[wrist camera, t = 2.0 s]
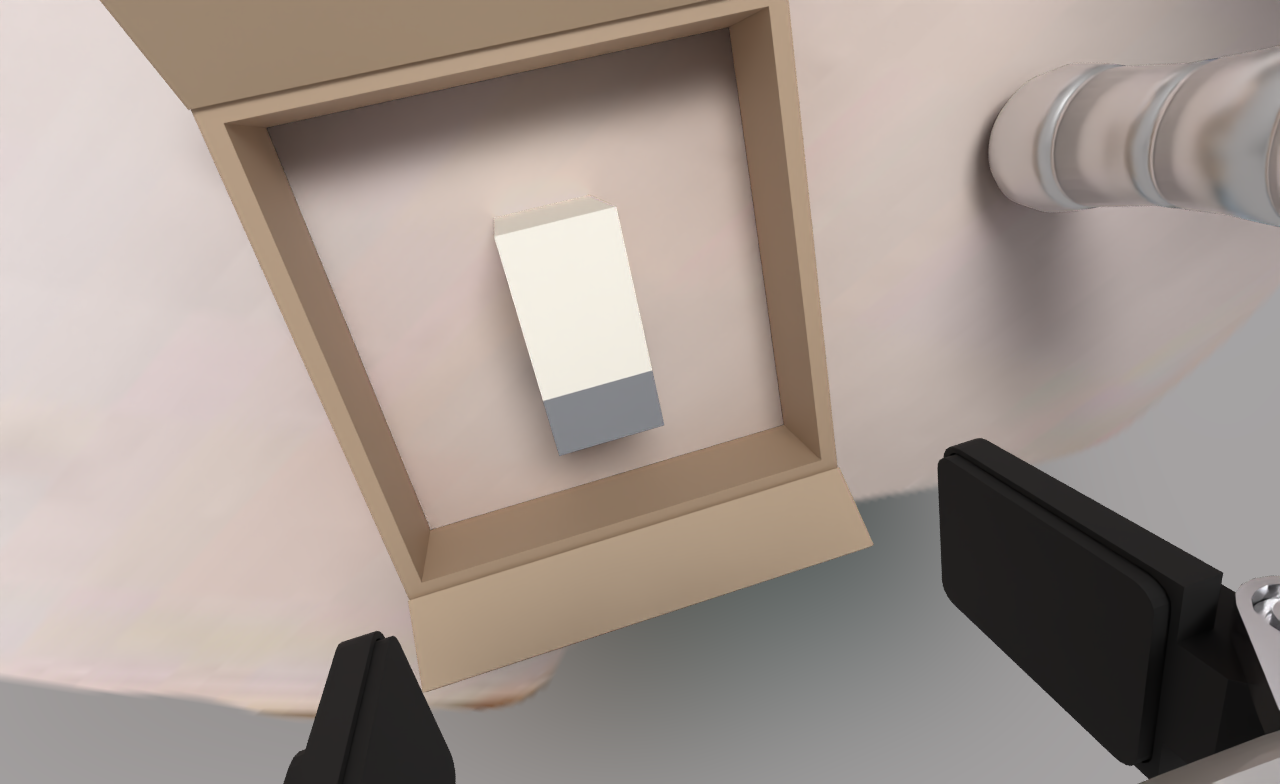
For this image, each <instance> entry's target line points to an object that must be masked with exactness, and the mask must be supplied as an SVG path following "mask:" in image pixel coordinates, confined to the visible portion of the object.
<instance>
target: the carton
mask: <svg viewBox="0 0 1280 784" xmlns="http://www.w3.org/2000/svg"><path fill="white" fill-rule="evenodd" d="M100 1H101V2H102V4H103V5H104V6H105V7H106V9H107V10H108V11H109V12H110V14H111V15H112V16H113V17H114V18H115V20H116V21H117V22H118V23H119V25H120V26H121V27H122V28H123V30H124V31H125V32H126V33H127V35H128V36H129V37H130V38H131V39H132V41H133V42H134V43H135V44H136V46H137V47H138V48H139V49H140V51H141V52H142V53H143V54H144V56H145V57H146V58H147V59H148V60H149V62H150V63H151V64H152V65H153V67H154V68H155V69H156V70H157V72H158V73H159V74H160V75H161V77H162V78H163V79H164V80H165V82H166V83H167V84H168V85H169V86H170V88H171V89H172V90H173V91H174V93H175V94H176V95H177V96H178V98H179V99H180V100H181V101H182V103H183V104H184V105H185V106H186V107H187V109H188V110H190V109H191V111H192V113H193V116H194V118H195V120H196V122H197V125H198V127H199V129H200V131H201V134H202V136H203V138H204V140H205V142H206V145H207V147H208V149H209V151H210V154H211V156H212V158H213V160H214V163H215V165H216V167H217V169H218V172H219V174H220V176H221V178H222V181H223V183H224V185H225V187H226V190H227V192H228V194H229V196H230V199H231V201H232V203H233V205H234V207H235V210H236V212H237V214H238V216H239V219H240V221H241V223H242V225H243V228H244V230H245V232H246V234H247V237H248V239H249V241H250V243H251V246H252V248H253V250H254V252H255V255H256V257H257V259H258V261H259V264H260V266H261V268H262V270H263V273H264V275H265V277H266V279H267V281H268V284H269V286H270V288H271V290H272V293H273V295H274V297H275V299H276V302H277V304H278V306H279V308H280V311H281V313H282V315H283V317H284V320H285V322H286V324H287V326H288V329H289V331H290V333H291V335H292V338H293V340H294V342H295V344H296V346H297V349H298V351H299V353H300V355H301V358H302V360H303V362H304V364H305V367H306V369H307V371H308V373H309V376H310V378H311V380H312V382H313V385H314V387H315V389H316V391H317V394H318V396H319V398H320V400H321V403H322V405H323V407H324V409H325V412H326V414H327V416H328V418H329V420H330V423H331V425H332V427H333V429H334V432H335V434H336V436H337V438H338V441H339V443H340V445H341V447H342V450H343V452H344V454H345V456H346V459H347V461H348V463H349V465H350V468H351V470H352V472H353V474H354V477H355V479H356V481H357V483H358V485H359V488H360V490H361V492H362V494H363V497H364V499H365V501H366V503H367V506H368V508H369V510H370V512H371V515H372V517H373V519H374V521H375V524H376V526H377V528H378V530H379V533H380V535H381V537H382V539H383V542H384V544H385V546H386V548H387V550H388V553H389V555H390V557H391V559H392V562H393V564H394V566H395V568H396V571H397V573H398V575H399V577H400V580H401V582H402V584H403V586H404V589H405V591H406V593H407V595H408V598H409V601H408V603H409V609H410V616H411V622H412V628H413V635H414V641H415V647H416V653H417V660H418V666H419V672H420V679H421V685H422V691H423V692H428V691H431V690H434V689H437V688H440V687H444V686H447V685H450V684H453V683H456V682H459V681H462V680H465V679H468V678H471V677H474V676H477V675H480V674H483V673H486V672H489V671H492V670H495V669H499V668H502V667H505V666H508V665H511V664H514V663H517V662H520V661H523V660H526V659H529V658H532V657H535V656H538V655H541V654H544V653H547V652H550V651H554V650H557V649H560V648H563V647H566V646H569V645H572V644H575V643H578V642H581V641H584V640H587V639H590V638H593V637H596V636H599V635H602V634H605V633H609V632H612V631H615V630H618V629H621V628H624V627H627V626H630V625H633V624H636V623H639V622H642V621H645V620H648V619H651V618H654V617H657V616H660V615H664V614H666V613H669V612H673V611H675V610H679V609H682V608H685V607H688V606H691V605H694V604H697V603H700V602H703V601H706V600H709V599H712V598H715V597H719V596H722V595H725V594H728V593H730V592H734V591H737V590H740V589H742V588H746V587H749V586H752V585H755V584H758V583H761V582H764V581H767V580H770V579H774V578H776V577H780V576H783V575H786V574H789V573H792V572H795V571H798V570H801V569H804V568H807V567H810V566H813V565H816V564H819V563H822V562H826V561H829V560H832V559H835V558H837V557H841V556H844V555H847V554H850V553H853V552H856V551H859V550H862V549H865V548H868V547H871V546H873V542H872V540H871V538H870V535H869V533H868V531H867V529H866V526H865V524H864V522H863V520H862V518H861V515H860V513H859V511H858V508H857V506H856V504H855V502H854V500H853V497H852V495H851V493H850V491H849V488H848V486H847V484H846V482H845V479H844V477H843V475H842V473H841V470H840V468H837V459H836V450H835V440H834V431H833V421H832V412H831V402H830V392H829V383H828V373H827V364H826V354H825V345H824V335H823V326H822V316H821V307H820V297H819V288H818V278H817V268H816V259H815V249H814V240H813V230H812V221H811V211H810V202H809V192H808V183H807V173H806V164H805V154H804V144H803V135H802V125H801V116H800V106H799V97H798V87H797V78H796V68H795V59H794V49H793V39H792V30H791V20H790V11H789V1H788V0H100ZM728 27H729V31H730V39H731V46H732V53H733V60H734V68H735V75H736V82H737V89H738V97H739V104H740V111H741V118H742V125H743V133H744V140H745V147H746V154H747V162H748V169H749V176H750V183H751V191H752V198H753V205H754V212H755V220H756V227H757V234H758V241H759V249H760V256H761V263H762V270H763V277H764V285H765V292H766V299H767V306H768V314H769V321H770V328H771V335H772V343H773V350H774V357H775V364H776V372H777V379H778V386H779V393H780V400H781V408H782V415H783V422H784V425H782V426H779V427H775V428H772V429H768V430H765V431H762V432H758V433H755V434H752V435H748V436H745V437H742V438H738V439H735V440H732V441H728V442H725V443H721V444H718V445H715V446H711V447H708V448H705V449H701V450H698V451H695V452H691V453H688V454H685V455H681V456H678V457H674V458H671V459H668V460H664V461H661V462H658V463H654V464H651V465H648V466H644V467H641V468H637V469H634V470H631V471H627V472H624V473H621V474H617V475H614V476H611V477H607V478H604V479H601V480H597V481H594V482H590V483H587V484H584V485H580V486H577V487H574V488H570V489H567V490H564V491H560V492H557V493H554V494H550V495H547V496H543V497H540V498H537V499H533V500H530V501H527V502H523V503H520V504H517V505H513V506H510V507H507V508H503V509H500V510H496V511H493V512H490V513H486V514H483V515H480V516H476V517H473V518H470V519H466V520H463V521H459V522H456V523H453V524H449V525H446V526H443V527H439V528H436V529H433V530H430V528H429V526H428V523H427V521H426V518H425V516H424V513H423V511H422V508H421V506H420V504H419V501H418V499H417V496H416V494H415V491H414V489H413V486H412V484H411V482H410V479H409V477H408V474H407V472H406V469H405V467H404V464H403V462H402V459H401V457H400V455H399V452H398V450H397V447H396V445H395V442H394V440H393V437H392V435H391V432H390V430H389V428H388V425H387V423H386V420H385V418H384V415H383V413H382V410H381V408H380V406H379V403H378V401H377V398H376V396H375V393H374V391H373V388H372V386H371V383H370V381H369V379H368V376H367V374H366V371H365V369H364V366H363V364H362V361H361V359H360V357H359V354H358V352H357V349H356V347H355V344H354V342H353V339H352V337H351V334H350V332H349V330H348V327H347V325H346V322H345V320H344V317H343V315H342V312H341V310H340V307H339V305H338V303H337V300H336V298H335V295H334V293H333V290H332V288H331V285H330V283H329V281H328V278H327V276H326V273H325V271H324V268H323V266H322V263H321V261H320V258H319V256H318V254H317V251H316V249H315V246H314V244H313V241H312V239H311V236H310V234H309V232H308V229H307V227H306V224H305V222H304V219H303V217H302V214H301V212H300V209H299V207H298V205H297V202H296V200H295V197H294V195H293V192H292V190H291V187H290V185H289V182H288V180H287V178H286V175H285V173H284V170H283V168H282V165H281V163H280V160H279V158H278V156H277V153H276V151H275V148H274V146H273V143H272V141H271V138H270V136H269V133H268V131H267V129H266V128H267V127H272V126H277V125H281V124H286V123H290V122H295V121H300V120H304V119H309V118H313V117H318V116H323V115H327V114H332V113H336V112H341V111H346V110H350V109H355V108H359V107H364V106H369V105H373V104H378V103H383V102H387V101H392V100H396V99H401V98H406V97H410V96H415V95H419V94H424V93H429V92H433V91H438V90H442V89H447V88H452V87H456V86H461V85H465V84H470V83H475V82H479V81H484V80H488V79H493V78H498V77H502V76H507V75H511V74H516V73H521V72H525V71H530V70H534V69H539V68H544V67H548V66H553V65H557V64H562V63H567V62H571V61H576V60H580V59H585V58H590V57H594V56H599V55H603V54H608V53H613V52H617V51H622V50H626V49H631V48H636V47H640V46H645V45H649V44H654V43H659V42H663V41H668V40H672V39H677V38H682V37H686V36H691V35H695V34H700V33H705V32H709V31H714V30H718V29H723V28H728Z"/></svg>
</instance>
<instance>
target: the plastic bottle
mask: <svg viewBox="0 0 1280 784" xmlns="http://www.w3.org/2000/svg"><path fill="white" fill-rule="evenodd" d="M988 158H989V166H990V169H991V173H992V175H993V177H994V179H995V181H996V183H997V185H998V187H999V189H1000V190H1001V191H1002V192H1003V193H1004V195H1005V196H1006V197H1007V198H1009V199H1010V200H1012V201H1013V202H1015V203H1018V204H1020V205H1023V206H1026V207H1029V208H1032V209H1035V210H1038V211H1041V212H1052V213H1054V212H1069V211H1079V210H1085V209H1091V208H1096V207H1128V206H1161V207H1168V208H1179V209H1185V210H1192V211H1200V212H1208V213H1216V214H1224V215H1228V216H1232V217H1237V218H1241V219H1246V220H1250V221H1254V222H1259V223H1263V224H1268V225H1272V226H1276V227H1280V45H1277V46H1274V47H1270V48H1266V49H1261V50H1255V51H1250V52H1245V53H1240V54H1234V55H1229V56H1224V57H1221V58H1215V59H1208V60H1203V61H1198V62H1193V63H1176V64H1155V65H1134V66H1126V65H1118V64H1110V63H1073V64H1067V65H1065V66H1062V67H1059V68H1057V69H1054V70H1052V71H1049V72H1046V73H1044V74H1041V75H1039V76H1036V77H1034V78H1032V79H1031V80H1029V81H1028V82H1026V83H1025V84H1023V85H1022V86H1021V87H1020V88H1019V89H1018V90H1017V91H1016V92H1015V93H1014V94H1013V95H1012V97H1011V98H1010V99H1009V101H1008V102H1007V103H1006V105H1005V106H1004V107H1003V109H1002V110H1001V111H1000V113H999V115H998V117H997V119H996V121H995V123H994V126H993V128H992V131H991V135H990V140H989V148H988Z"/></svg>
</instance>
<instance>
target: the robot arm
mask: <svg viewBox="0 0 1280 784" xmlns="http://www.w3.org/2000/svg"><path fill="white" fill-rule="evenodd" d="M938 490H939V514H940V538H941V539H940V540H941V564H942V583H943V587H944V590H945V592H946V594H947V596H948V598H949V599H950V600H951V602H952V603H953V604H954V605H955V606H956V607H957V608H958V609H959V610H960V611H961V612H962V613H964V614H965V615H966V616H967V617H968V618H969V619H970V620H971V621H972V622H973V623H974V624H975V625H976V626H977V627H978V628H979V629H980V630H981V631H982V632H983V633H985V634H986V635H987V636H988V637H989V638H990V639H991V640H992V641H993V642H994V643H995V644H996V645H997V646H998V647H999V648H1000V649H1001V650H1002V651H1004V652H1005V653H1006V654H1007V655H1008V656H1009V657H1010V658H1011V659H1012V660H1013V661H1014V662H1015V663H1016V664H1017V665H1018V666H1019V667H1020V668H1021V669H1022V670H1023V671H1025V672H1026V673H1027V674H1028V675H1029V676H1030V677H1031V678H1032V679H1033V680H1034V681H1035V682H1036V683H1037V684H1038V685H1039V686H1040V687H1041V688H1042V689H1043V690H1044V691H1046V692H1047V693H1048V694H1049V695H1050V696H1051V697H1052V698H1053V699H1054V700H1055V701H1056V702H1057V703H1058V704H1059V705H1060V706H1061V707H1062V708H1064V710H1065V711H1067V712H1068V713H1069V714H1070V715H1071V716H1072V717H1073V718H1074V719H1075V720H1076V721H1077V722H1078V723H1079V724H1080V725H1081V726H1082V727H1083V728H1084V729H1085V730H1086V731H1088V732H1089V733H1090V734H1091V735H1092V736H1093V737H1094V738H1095V739H1096V740H1097V741H1098V742H1099V743H1100V744H1101V745H1102V746H1103V747H1104V748H1106V749H1107V750H1108V751H1109V752H1110V753H1111V754H1112V755H1113V756H1114V757H1115V758H1116V759H1117V760H1119V761H1120V762H1122V763H1124V764H1125V765H1129V766H1132V765H1134V766H1135V767H1137V768H1138V769H1139V770H1140V771H1141V772H1142V773H1143V774H1144V775H1145V776H1146V777H1147V778H1148V779H1149V780H1146V781H1144V782H1142V783H1139V784H1280V576H1266V577H1260V578H1254V579H1252V580H1250V581H1247V582H1245V583H1244V584H1242V585H1241V586H1240V587H1239V589H1238V590H1237V592H1234V591H1232V590H1231V589H1229V588H1227V587H1225V586H1224V585H1222V584H1221V583H1222V576H1223V573H1222V572H1221V571H1219V570H1217V569H1215V568H1213V567H1212V566H1210V565H1208V564H1206V563H1204V562H1203V561H1201V560H1199V559H1197V558H1196V557H1194V556H1192V555H1190V554H1188V553H1187V552H1185V551H1183V550H1182V549H1180V548H1178V547H1176V546H1174V545H1172V544H1171V543H1169V542H1167V541H1165V540H1164V539H1162V538H1160V537H1158V536H1156V535H1155V534H1153V533H1151V532H1149V531H1148V530H1146V529H1144V528H1142V527H1140V526H1139V525H1137V524H1135V523H1133V522H1132V521H1130V520H1128V519H1126V518H1124V517H1123V516H1121V515H1119V514H1117V513H1115V512H1114V511H1112V510H1110V509H1108V508H1106V507H1105V506H1103V505H1101V504H1100V503H1098V502H1096V501H1094V500H1092V499H1091V498H1089V497H1087V496H1085V495H1083V494H1082V493H1080V492H1078V491H1076V490H1075V489H1073V488H1071V487H1069V486H1067V485H1066V484H1064V483H1062V482H1060V481H1058V480H1057V479H1055V478H1053V477H1051V476H1049V475H1048V474H1046V473H1044V472H1042V471H1041V470H1039V469H1037V468H1035V467H1034V466H1032V465H1030V464H1028V463H1026V462H1025V461H1023V460H1021V459H1019V458H1018V457H1016V456H1014V455H1012V454H1010V453H1009V452H1007V451H1005V450H1003V449H1001V448H1000V447H998V446H996V445H994V444H993V443H991V442H989V441H987V440H985V439H982V438H977V439H974V440H970V441H967V442H964V443H961V444H958V445H955V446H952V447H949V448H948V449H946V451H945V453H944V458H942V459H941V460H939V463H938ZM284 784H455V768H454V763H453V759H452V756H451V753H450V751H449V749H448V747H447V744H446V742H445V740H444V738H443V736H442V734H441V731H440V729H439V727H438V725H437V723H436V721H435V719H434V716H433V714H432V712H431V710H430V708H429V706H428V703H427V701H426V699H425V697H424V695H423V693H422V690H421V688H420V686H419V684H418V682H417V680H416V678H415V675H414V673H413V671H412V669H411V667H410V665H409V663H408V660H407V658H406V656H405V654H404V652H403V650H402V647H401V645H400V643H399V641H398V640H397V638H396V637H395V636H391V637H388V638H385V637H384V635H383V634H382V633H381V632H380V631H375V632H372V633H369V634H366V635H363V636H360V637H356V638H353V639H350V640H347V641H344V642H341V643H340V644H339V645H338V647H337V649H336V652H335V655H334V658H333V661H332V665H331V668H330V671H329V674H328V678H327V681H326V684H325V687H324V691H323V694H322V697H321V700H320V704H319V707H318V710H317V713H316V717H315V720H314V723H313V727H312V730H311V733H310V736H309V740H308V743H307V746H306V749H305V750H302V751H299V752H298V753H297V755H295V757H294V758H293V760H292V762H291V764H290V766H289V768H288V771H287V774H286V777H285V781H284Z"/></svg>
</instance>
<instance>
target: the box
mask: <svg viewBox="0 0 1280 784" xmlns="http://www.w3.org/2000/svg"><path fill="white" fill-rule="evenodd" d="M494 238H495V241H496V245H497V248H498V251H499V255H500V258H501V261H502V265H503V268H504V272H505V275H506V278H507V282H508V285H509V288H510V292H511V295H512V298H513V302H514V305H515V309H516V312H517V315H518V319H519V322H520V325H521V329H522V332H523V336H524V339H525V342H526V346H527V349H528V352H529V356H530V359H531V362H532V366H533V369H534V373H535V376H536V379H537V383H538V386H539V389H540V393H541V396H542V399H543V403H544V406H545V410H546V413H547V416H548V420H549V423H550V426H551V430H552V433H553V436H554V440H555V443H556V447H557V450H558V453H559V456H561V455H564V454H568V453H571V452H574V451H578V450H581V449H585V448H588V447H592V446H595V445H598V444H602V443H605V442H609V441H612V440H616V439H619V438H622V437H626V436H629V435H633V434H636V433H640V432H643V431H646V430H650V429H653V428H657V427H660V426H663V425H664V422H663V417H662V413H661V408H660V404H659V399H658V394H657V390H656V385H655V381H654V376H653V372H652V367H651V363H650V358H649V353H648V349H647V344H646V340H645V335H644V331H643V326H642V322H641V317H640V312H639V308H638V303H637V299H636V294H635V290H634V285H633V281H632V276H631V272H630V267H629V262H628V258H627V253H626V249H625V244H624V240H623V235H622V231H621V226H620V221H619V217H618V212H617V208H616V206H614V205H612V204H609V203H607V202H605V201H602V200H600V199H598V198H596V197H593V196H591V195H586V196H582V197H578V198H574V199H570V200H566V201H562V202H558V203H554V204H549V205H545V206H541V207H537V208H533V209H529V210H525V211H521V212H517V213H512V214H508V215H504V216H500V217H496V218H494Z"/></svg>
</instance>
